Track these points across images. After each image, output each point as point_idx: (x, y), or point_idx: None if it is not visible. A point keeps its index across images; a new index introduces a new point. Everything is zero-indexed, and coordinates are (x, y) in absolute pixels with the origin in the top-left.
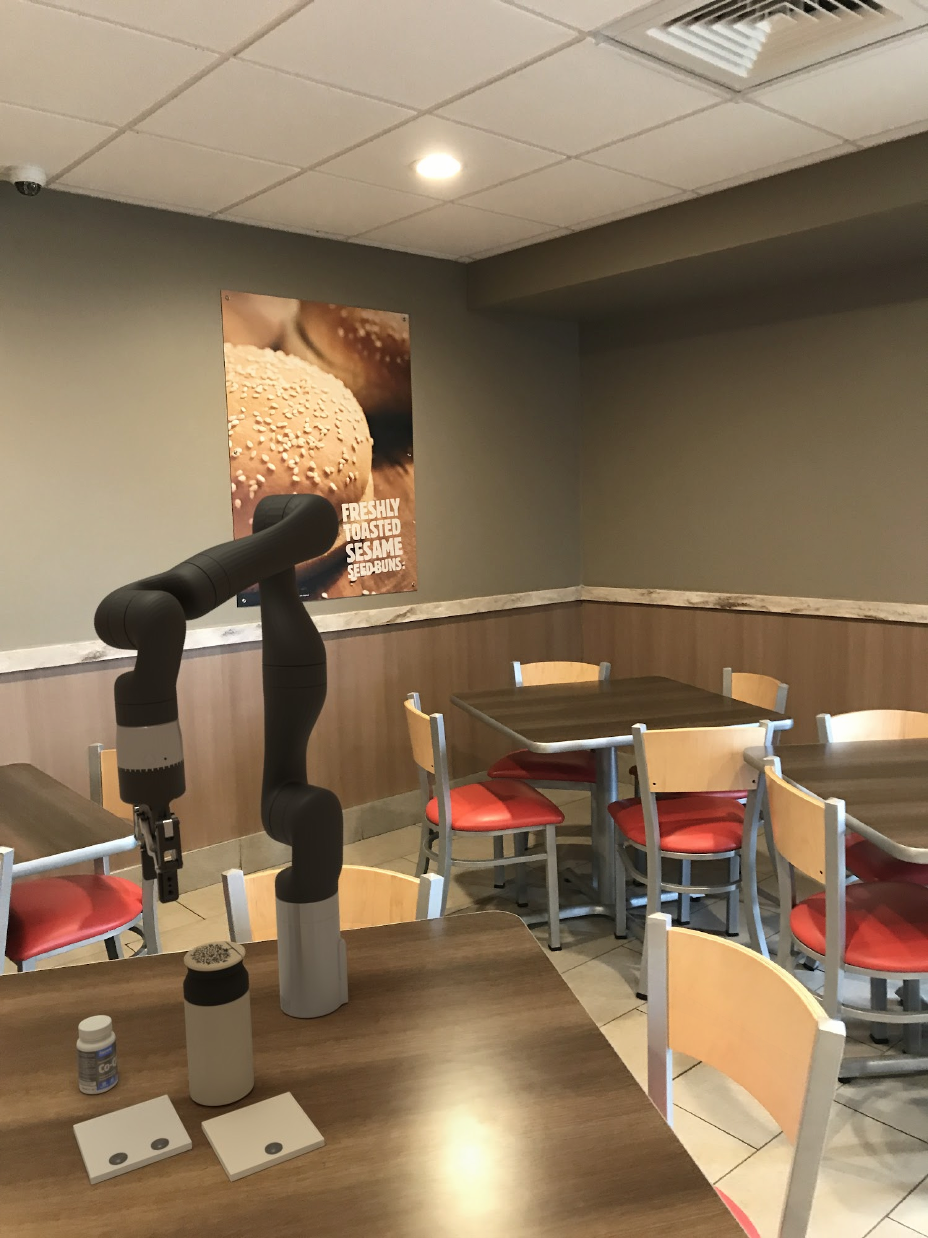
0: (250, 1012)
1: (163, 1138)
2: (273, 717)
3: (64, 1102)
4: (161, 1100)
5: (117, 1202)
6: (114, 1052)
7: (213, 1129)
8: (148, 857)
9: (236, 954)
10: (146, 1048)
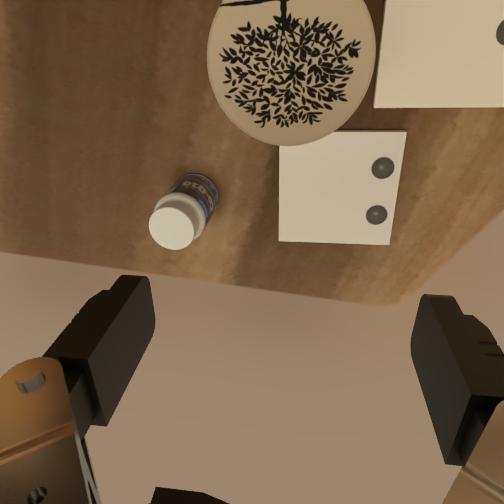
0: None
1: (375, 162)
2: None
3: (214, 234)
4: None
5: (435, 226)
6: (196, 192)
7: (401, 97)
8: (114, 379)
9: (334, 2)
10: (134, 121)
